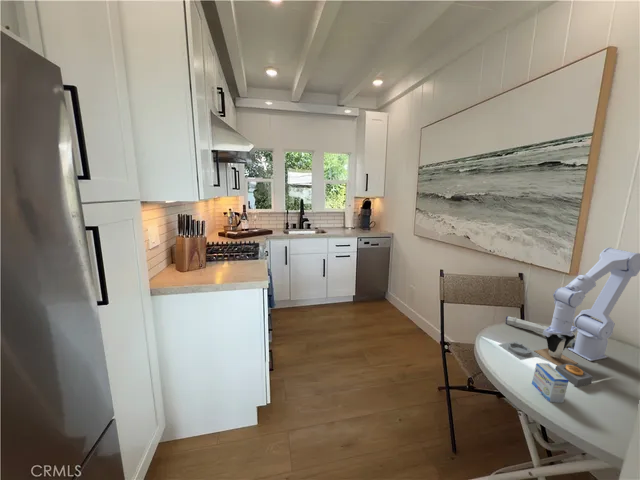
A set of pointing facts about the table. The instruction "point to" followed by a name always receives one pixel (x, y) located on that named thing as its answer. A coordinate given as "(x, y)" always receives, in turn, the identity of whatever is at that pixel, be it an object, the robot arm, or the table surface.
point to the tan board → (554, 360)
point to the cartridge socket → (519, 350)
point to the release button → (574, 370)
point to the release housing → (575, 380)
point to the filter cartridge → (558, 348)
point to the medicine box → (550, 382)
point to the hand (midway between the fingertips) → (555, 349)
